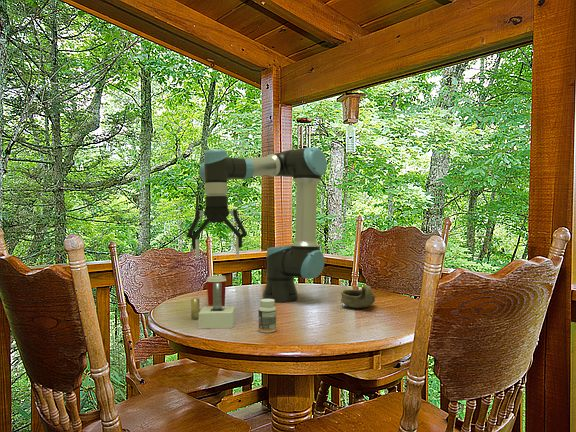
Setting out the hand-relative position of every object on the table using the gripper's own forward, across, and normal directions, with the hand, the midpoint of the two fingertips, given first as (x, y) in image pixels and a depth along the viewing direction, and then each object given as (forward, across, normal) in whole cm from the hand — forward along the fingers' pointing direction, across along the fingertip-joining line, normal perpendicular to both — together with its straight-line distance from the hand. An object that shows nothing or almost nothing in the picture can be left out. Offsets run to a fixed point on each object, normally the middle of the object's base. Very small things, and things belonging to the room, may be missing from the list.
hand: (217, 258), depth 156 cm
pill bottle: (+23, -17, +10) cm, 30 cm away
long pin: (+22, 0, 0) cm, 23 cm away
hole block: (+22, 0, 0) cm, 23 cm away
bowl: (+24, -52, -22) cm, 61 cm away
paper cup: (+23, +3, -15) cm, 28 cm away
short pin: (+22, +10, -8) cm, 26 cm away
